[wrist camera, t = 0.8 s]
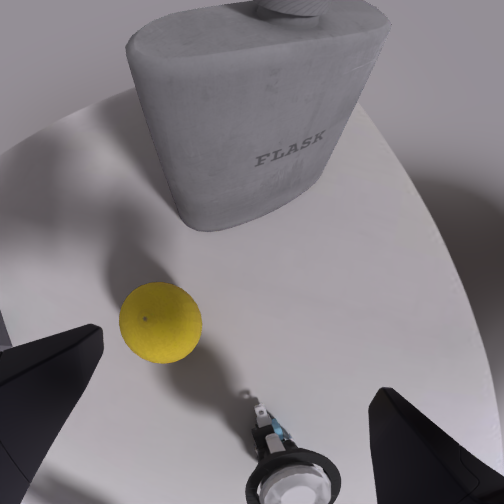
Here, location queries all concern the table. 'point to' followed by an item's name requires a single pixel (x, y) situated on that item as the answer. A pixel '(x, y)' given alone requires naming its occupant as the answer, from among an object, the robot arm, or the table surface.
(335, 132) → the flask
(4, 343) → the plug
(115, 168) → the table surface
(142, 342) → the lemon
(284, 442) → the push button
